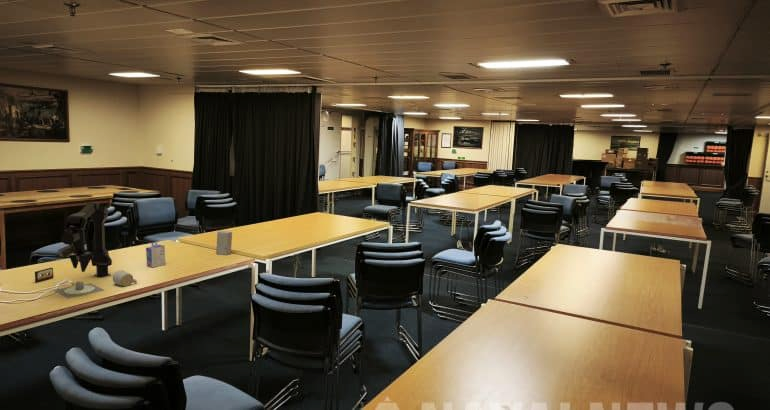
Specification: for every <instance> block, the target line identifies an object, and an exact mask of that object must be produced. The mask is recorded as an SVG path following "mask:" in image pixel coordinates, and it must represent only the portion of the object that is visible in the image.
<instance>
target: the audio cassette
mask: <svg viewBox="0 0 770 410" xmlns="http://www.w3.org/2000/svg"><path fill="white" fill-rule="evenodd" d="M54 275H55V274H54V267H48V268H43V269H40V270H37V271H34V283H42V282H46V281H49V280H52V279H54Z"/></svg>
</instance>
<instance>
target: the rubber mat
mask: <svg viewBox="0 0 770 410" xmlns="http://www.w3.org/2000/svg"><path fill="white" fill-rule="evenodd" d="M84 285H90V286H94V287H95V290H93V291H92V292H89V293H85V294H77V295H70V294H65V293H64V290H66V289H67V288H70V287H71V286H70V287H65V288H59V289H55V290H54V292H56V293H57V294H59V295H60V296H62V297H64V298H66V299H72V298H76V297H81V296H86V295H90V294H96V293H100V292H105V291H106V289H104V288H101V287H100V286H98V285H96V284H93V283H91V282H90V283H84Z"/></svg>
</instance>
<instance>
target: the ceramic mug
mask: <svg viewBox="0 0 770 410" xmlns="http://www.w3.org/2000/svg"><path fill="white" fill-rule="evenodd" d="M112 281H113V283H114V284H116V285H119V286H121V287H128V286H131V285H132V284H137V281H138V280H137V279H134V276H133V275H132V274H131V273H130V272H128V271H125V270H124V269H121V270H120V269H119V270H117V271H115V272H114V274H113V275H112Z"/></svg>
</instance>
